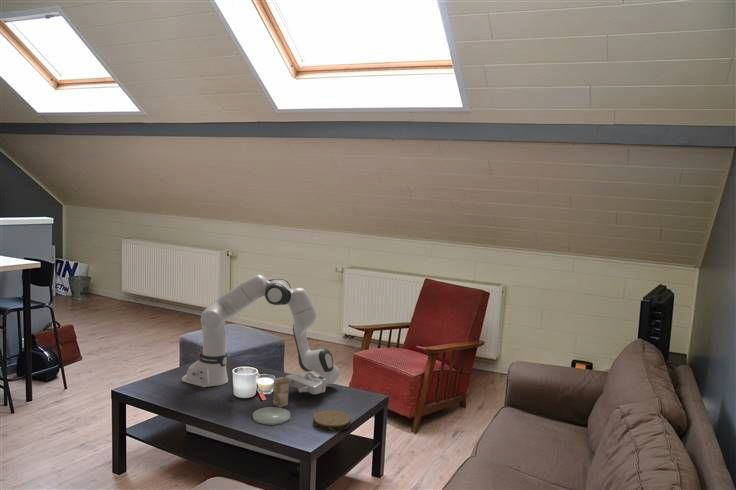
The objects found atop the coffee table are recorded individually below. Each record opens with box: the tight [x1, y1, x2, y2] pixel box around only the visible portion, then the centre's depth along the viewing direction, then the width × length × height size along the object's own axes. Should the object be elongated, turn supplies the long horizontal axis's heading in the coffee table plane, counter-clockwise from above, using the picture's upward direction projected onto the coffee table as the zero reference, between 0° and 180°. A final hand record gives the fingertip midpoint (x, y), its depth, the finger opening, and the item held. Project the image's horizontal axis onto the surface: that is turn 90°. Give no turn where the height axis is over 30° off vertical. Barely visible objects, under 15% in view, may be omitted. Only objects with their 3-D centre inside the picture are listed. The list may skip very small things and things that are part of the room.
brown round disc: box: [312, 409, 352, 433], centre depth 253 cm, size 16×16×3 cm
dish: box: [252, 406, 291, 426], centre depth 256 cm, size 16×16×1 cm
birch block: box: [272, 376, 290, 408], centre depth 269 cm, size 5×5×12 cm
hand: (291, 387), depth 274 cm, fingers open, 8 cm apart
